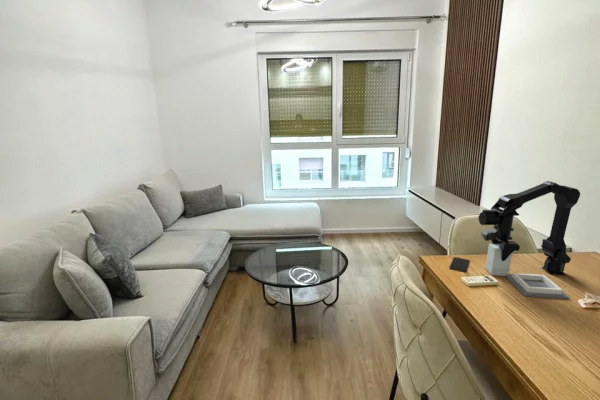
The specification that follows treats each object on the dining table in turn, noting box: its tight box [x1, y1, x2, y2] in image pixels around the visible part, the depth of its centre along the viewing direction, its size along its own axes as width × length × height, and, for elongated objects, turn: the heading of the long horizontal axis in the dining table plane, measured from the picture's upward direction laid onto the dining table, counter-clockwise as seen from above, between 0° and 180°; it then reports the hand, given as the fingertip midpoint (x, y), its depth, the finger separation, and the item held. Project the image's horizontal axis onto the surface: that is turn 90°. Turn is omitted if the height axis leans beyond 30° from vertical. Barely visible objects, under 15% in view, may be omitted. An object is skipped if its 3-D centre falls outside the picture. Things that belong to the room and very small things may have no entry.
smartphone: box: [448, 256, 471, 273], centre depth 153 cm, size 7×1×15 cm
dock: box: [504, 272, 570, 300], centre depth 132 cm, size 16×16×3 cm
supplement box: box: [485, 243, 513, 277], centre depth 143 cm, size 7×7×13 cm
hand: (499, 257), depth 143 cm, fingers closed on supplement box, 7 cm apart
